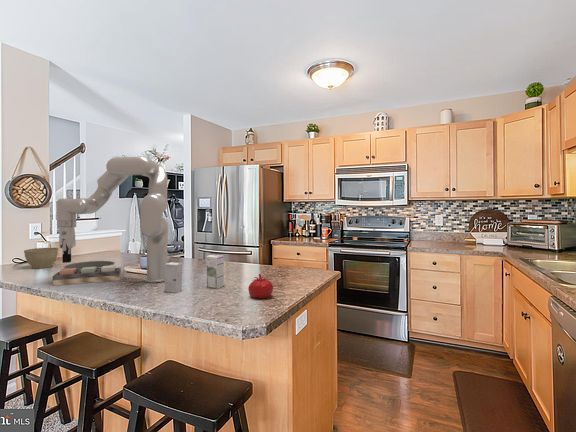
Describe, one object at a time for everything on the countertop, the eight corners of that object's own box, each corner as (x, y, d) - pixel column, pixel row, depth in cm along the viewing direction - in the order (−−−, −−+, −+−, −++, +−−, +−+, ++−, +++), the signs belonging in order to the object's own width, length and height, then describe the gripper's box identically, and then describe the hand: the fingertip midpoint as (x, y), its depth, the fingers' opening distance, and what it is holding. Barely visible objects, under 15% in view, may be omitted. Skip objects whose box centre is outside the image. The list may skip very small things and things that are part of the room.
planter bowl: (17, 269, 181) (16, 250, 181) (43, 264, 197) (42, 247, 197) (40, 270, 178) (40, 251, 178) (65, 265, 194) (64, 247, 194)
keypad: (120, 276, 164) (120, 267, 164) (119, 280, 155) (118, 271, 155) (58, 281, 153) (58, 271, 153) (52, 285, 144) (52, 276, 144)
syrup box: (224, 286, 144) (224, 254, 143) (216, 289, 138) (216, 256, 138) (214, 284, 146) (214, 253, 146) (206, 287, 141) (206, 255, 140)
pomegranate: (263, 302, 120) (263, 278, 120) (243, 297, 125) (243, 275, 125) (277, 295, 129) (277, 273, 128) (258, 291, 134) (258, 270, 133)
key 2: (115, 269, 161) (115, 265, 161) (114, 271, 156) (114, 267, 156) (102, 269, 159) (102, 266, 159) (101, 272, 154) (101, 268, 153)
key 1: (76, 271, 154) (76, 267, 154) (73, 274, 149) (73, 269, 149) (62, 272, 152) (62, 268, 152) (59, 275, 147) (59, 270, 147)
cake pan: (77, 279, 158) (77, 270, 158) (54, 273, 171) (54, 265, 170) (124, 270, 179) (124, 263, 179) (101, 266, 192) (101, 259, 191)
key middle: (96, 270, 157) (96, 266, 157) (94, 272, 152) (94, 268, 152) (83, 271, 155) (83, 267, 155) (80, 273, 150) (80, 269, 150)
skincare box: (164, 291, 134) (163, 263, 133) (171, 289, 138) (170, 262, 138) (176, 293, 132) (175, 264, 132) (182, 290, 136) (182, 262, 136)
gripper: (72, 225, 144) (72, 264, 145) (79, 223, 158) (79, 259, 158) (52, 225, 141) (52, 265, 142) (61, 223, 155) (61, 260, 155)
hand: (66, 262), depth 150 cm, fingers closed
